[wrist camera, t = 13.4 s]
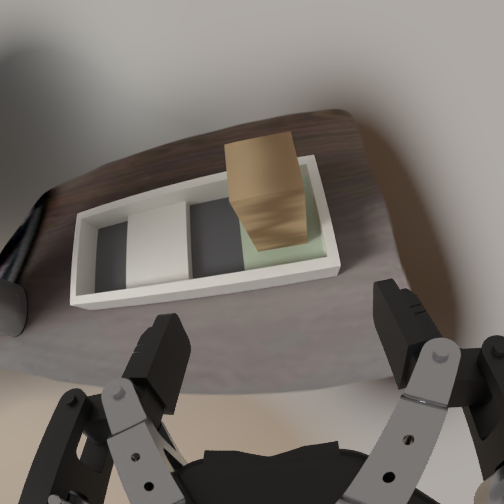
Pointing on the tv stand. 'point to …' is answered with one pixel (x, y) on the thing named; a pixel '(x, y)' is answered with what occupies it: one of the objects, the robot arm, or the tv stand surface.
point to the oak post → (267, 190)
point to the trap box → (190, 246)
